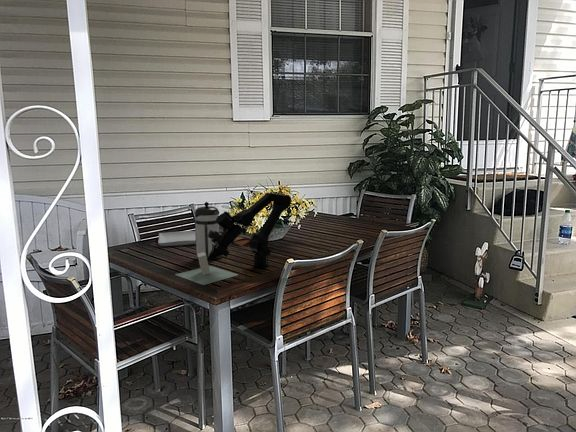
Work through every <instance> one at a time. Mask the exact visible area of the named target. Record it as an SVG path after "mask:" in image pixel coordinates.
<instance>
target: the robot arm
mask: <svg viewBox="0 0 576 432" xmlns="http://www.w3.org/2000/svg"><path fill="white" fill-rule="evenodd" d="M271 203H272V208H271V209H272V210H271V211H270V213H269V214H268V217H267V219H266V220H265V221H264V224H263V225H262V227H261V229H260V231H259V232H258V233H254V234H252V237H251V238H250V244H249V249H250V250H251V252H252V253H253V254H254V258H253V264H252V266H253V267H256V268H259V269H264V268H267V267H271V264H270V263H269V256H270V255H271V252H272V250H271V249H270V248H269V247H268V244H269V237H270V236H271V234H272V232H273V230H274V228H275V226H276V224H277V223H278V221H279V219H280V217H281V215H282V214H283V213H284V212H285V211H286V210H288V208H289V207H290V206H291V204H292V198H291V196H290V195H289V194H285V193H284V194H283V193H278V194H275V193H273V192H266V193H265V194H264V195H263V196H262V197H260V198H259V199H258V200H257V201H256V202H254V203H253V204H251V206H249V207H248V208H245V209H243V210H241V211H239V212H237V213H236V214H235V215H230V213H229V212H228V211H223V213H221V214H219V216H218V217H217V219H216V223H217V224H219V225H220V227H221V228H222V230H223V229H224V230H227V231H226V232H223V231H222V232H220V233H219V232H216V231H213V230H210V231H209V234H208V237H209V238H211V239H212V240H211V241H212V242H214V244H212V250H211V252H210V254H209V255H208V257H207V260H208V261H211V260H213V259H216V258H219V256H220V257H222V256H223V257H225V258H227V257H228V256H229V255H230V251H229V247H230V245H232V244H231V243H234V240H235V239H236V238H237V237H240V235H241V234H243V235H246V234H247V233H246V232H247V231H246V228H245V227H248V226H250V224H252V222H253V221H254V219H255V217H256V216H257V215H259V213H260V212H261V211H262V210H264V209H265V208H266V207H267V206H269V205H270V204H271ZM240 225H241V226H240ZM242 226H244V227H242ZM221 255H222V256H221Z"/></svg>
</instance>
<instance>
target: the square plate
mask: <svg viewBox="0 0 576 432" xmlns="http://www.w3.org/2000/svg"><path fill="white" fill-rule="evenodd" d="M157 243H158V245H159V246H161V247H175V246H176V247H177V246H189V245H191V246H192V245H196V235H195V230H184V231H182V230H181V231H169V232H159V233H158V240H157Z"/></svg>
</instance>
